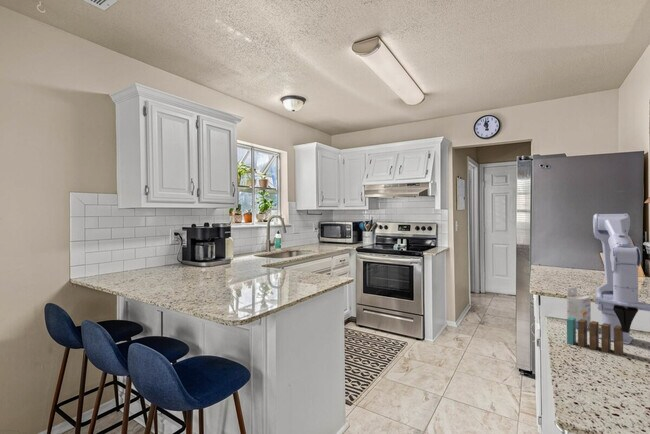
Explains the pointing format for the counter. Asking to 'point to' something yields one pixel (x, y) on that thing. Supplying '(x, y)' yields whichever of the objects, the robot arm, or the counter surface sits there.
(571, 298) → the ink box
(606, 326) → the domino
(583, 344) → the domino
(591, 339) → the domino
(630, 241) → the robot arm
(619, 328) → the domino
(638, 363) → the counter surface
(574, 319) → the domino
